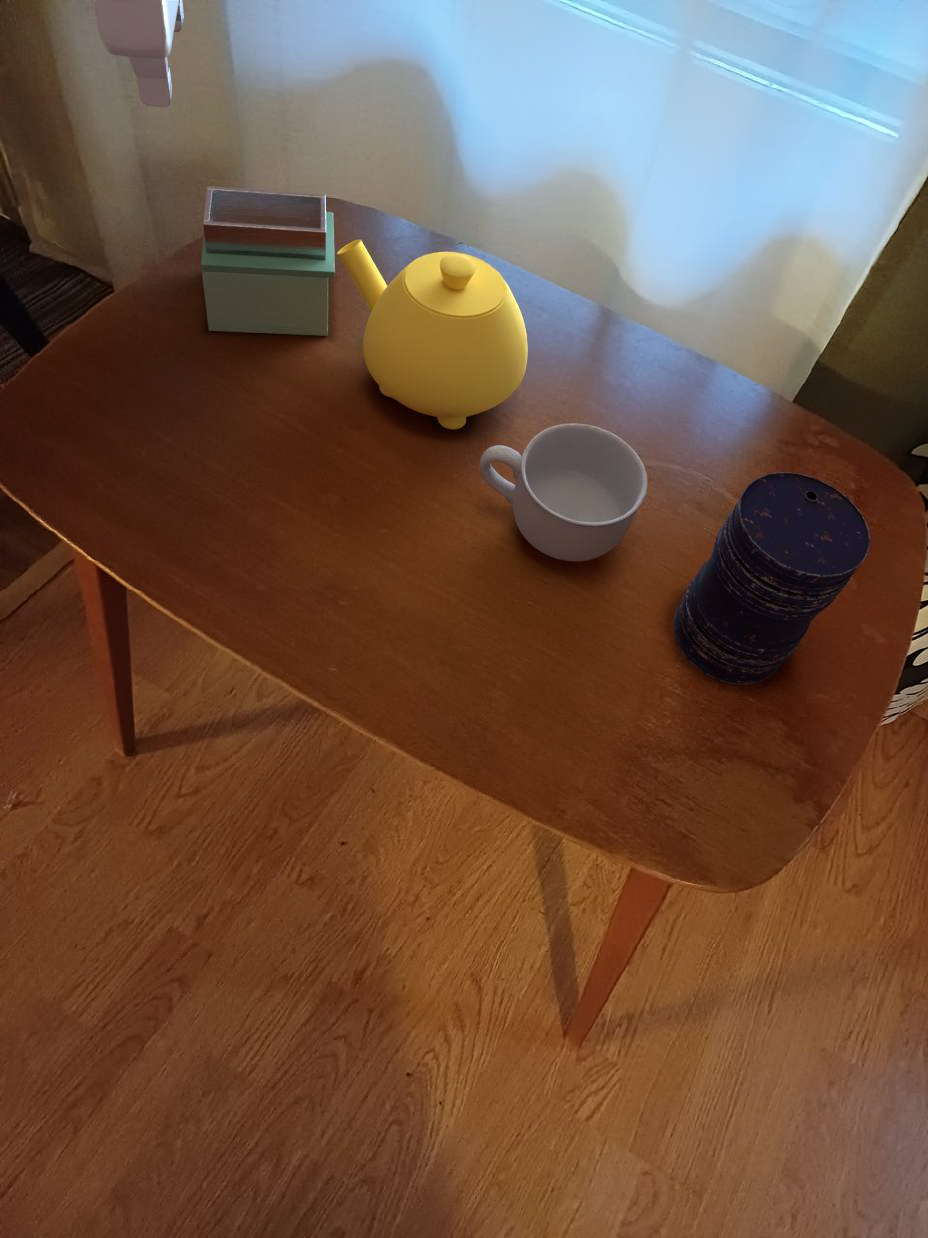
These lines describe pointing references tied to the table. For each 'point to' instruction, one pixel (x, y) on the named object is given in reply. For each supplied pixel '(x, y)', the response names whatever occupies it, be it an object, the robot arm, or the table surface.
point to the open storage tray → (265, 223)
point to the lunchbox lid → (275, 261)
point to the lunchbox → (266, 303)
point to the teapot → (441, 333)
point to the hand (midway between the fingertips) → (164, 61)
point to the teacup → (571, 489)
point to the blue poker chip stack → (769, 576)
